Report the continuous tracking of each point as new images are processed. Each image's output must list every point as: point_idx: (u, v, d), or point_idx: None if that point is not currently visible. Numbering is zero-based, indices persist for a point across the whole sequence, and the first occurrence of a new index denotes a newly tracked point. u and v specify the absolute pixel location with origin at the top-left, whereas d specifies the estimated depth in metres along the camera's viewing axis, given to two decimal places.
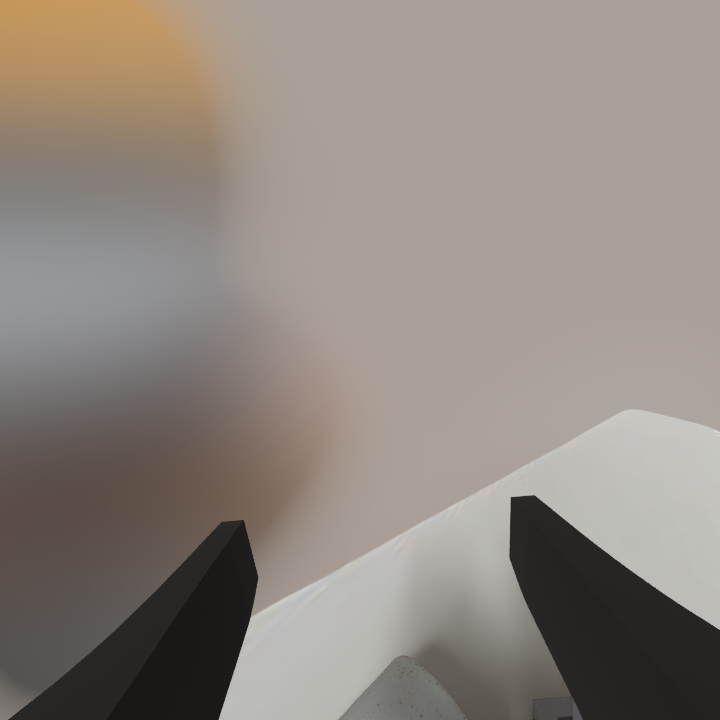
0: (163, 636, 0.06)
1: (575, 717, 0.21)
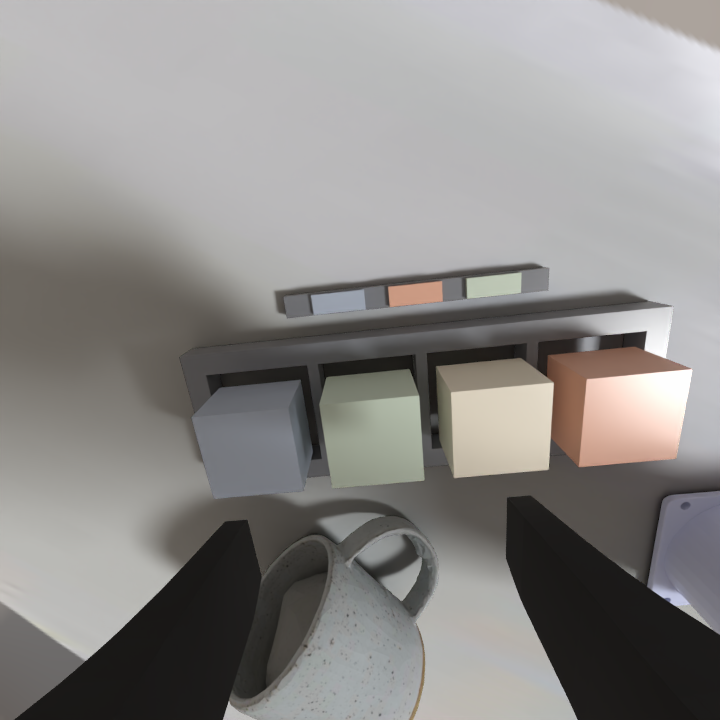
0: (168, 636, 0.06)
1: None
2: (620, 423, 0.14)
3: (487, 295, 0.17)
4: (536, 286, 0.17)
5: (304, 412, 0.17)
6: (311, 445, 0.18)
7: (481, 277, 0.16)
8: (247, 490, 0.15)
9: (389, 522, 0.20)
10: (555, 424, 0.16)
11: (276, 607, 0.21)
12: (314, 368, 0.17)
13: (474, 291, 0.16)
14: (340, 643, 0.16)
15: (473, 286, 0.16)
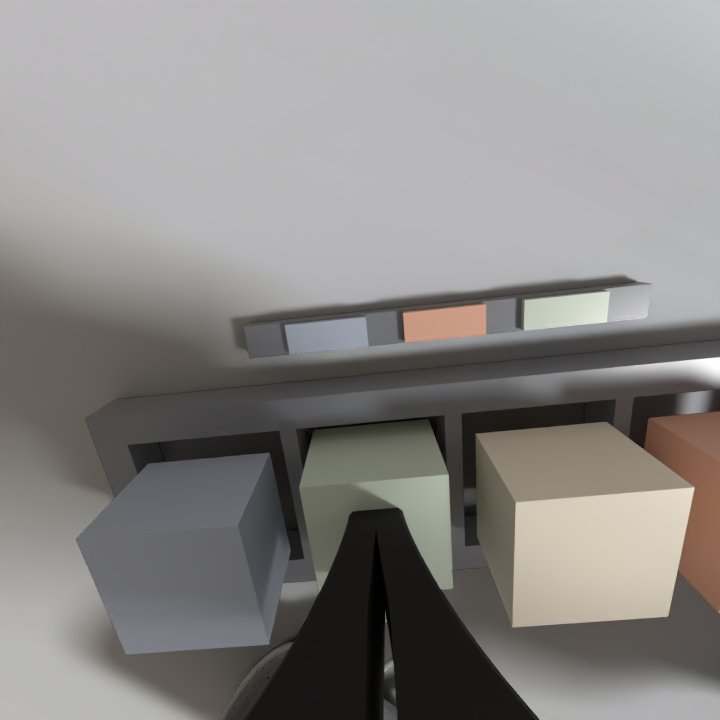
0: (363, 621, 0.06)
1: None
2: None
3: (555, 325, 0.11)
4: (629, 311, 0.11)
5: (275, 501, 0.11)
6: (288, 544, 0.12)
7: (547, 298, 0.11)
8: (178, 643, 0.09)
9: None
10: None
11: None
12: (290, 435, 0.11)
13: (535, 319, 0.11)
14: None
15: (534, 312, 0.11)
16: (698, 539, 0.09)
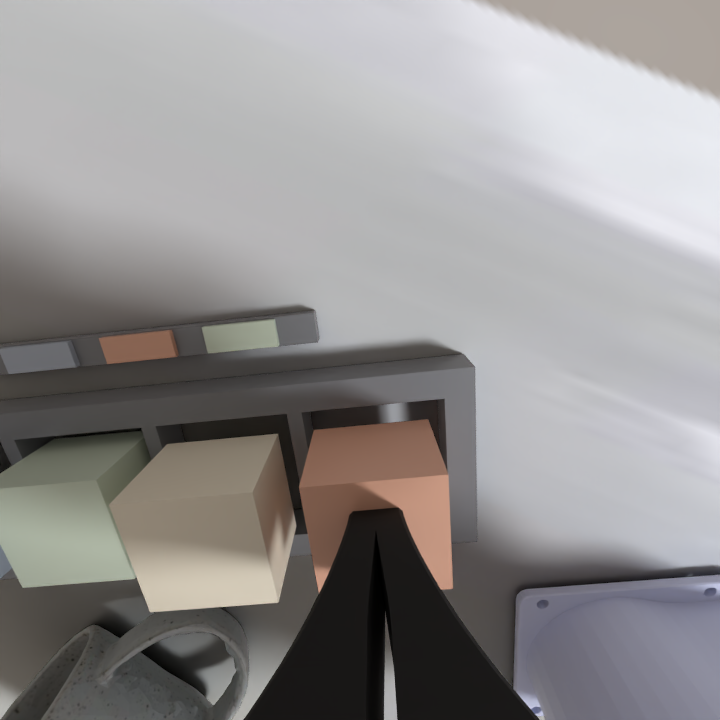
0: (364, 621, 0.06)
1: None
2: None
3: (233, 349, 0.12)
4: (300, 336, 0.12)
5: None
6: None
7: (222, 325, 0.12)
8: None
9: (179, 615, 0.16)
10: None
11: None
12: (12, 444, 0.13)
13: (215, 344, 0.12)
14: None
15: (212, 337, 0.12)
16: None
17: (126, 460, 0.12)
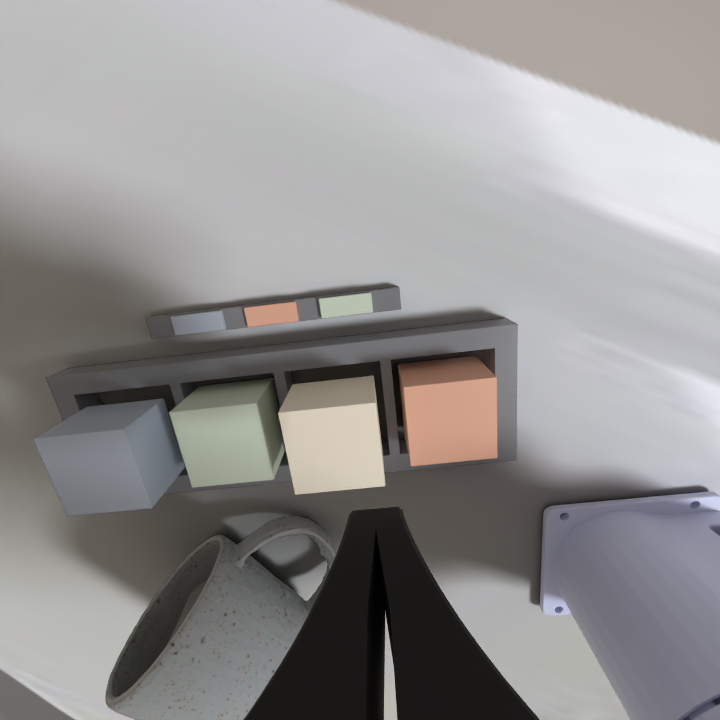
0: (364, 621, 0.06)
1: None
2: (441, 426, 0.16)
3: (340, 315, 0.17)
4: (388, 305, 0.17)
5: (168, 430, 0.17)
6: (181, 461, 0.18)
7: (333, 297, 0.17)
8: (98, 507, 0.16)
9: (287, 522, 0.20)
10: (404, 427, 0.18)
11: (183, 607, 0.22)
12: (177, 387, 0.17)
13: (327, 311, 0.17)
14: (212, 642, 0.16)
15: (326, 306, 0.17)
16: (406, 428, 0.17)
17: (265, 395, 0.17)
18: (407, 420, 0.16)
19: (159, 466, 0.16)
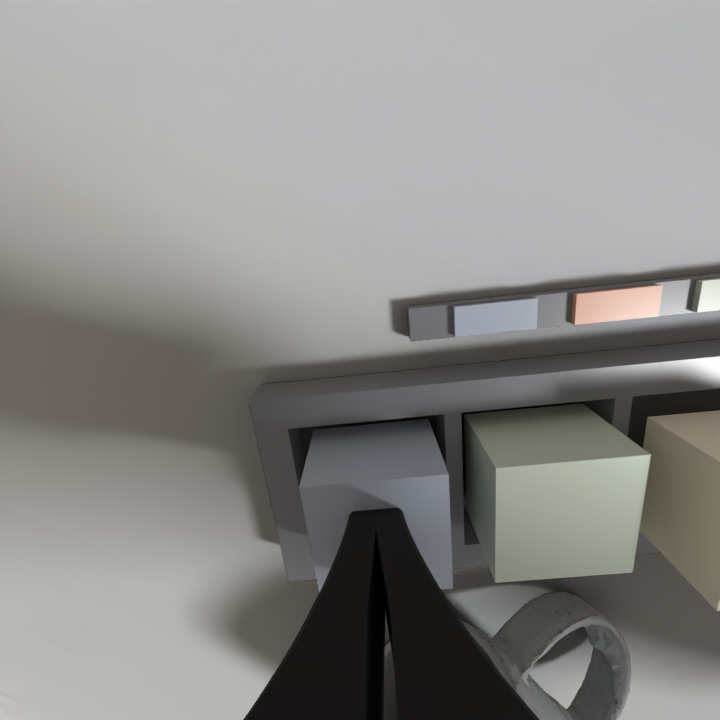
0: (364, 621, 0.06)
1: None
2: None
3: None
4: None
5: None
6: None
7: None
8: None
9: (566, 606, 0.14)
10: None
11: (388, 717, 0.15)
12: (454, 418, 0.11)
13: (710, 301, 0.11)
14: None
15: (710, 293, 0.10)
16: None
17: None
18: None
19: None
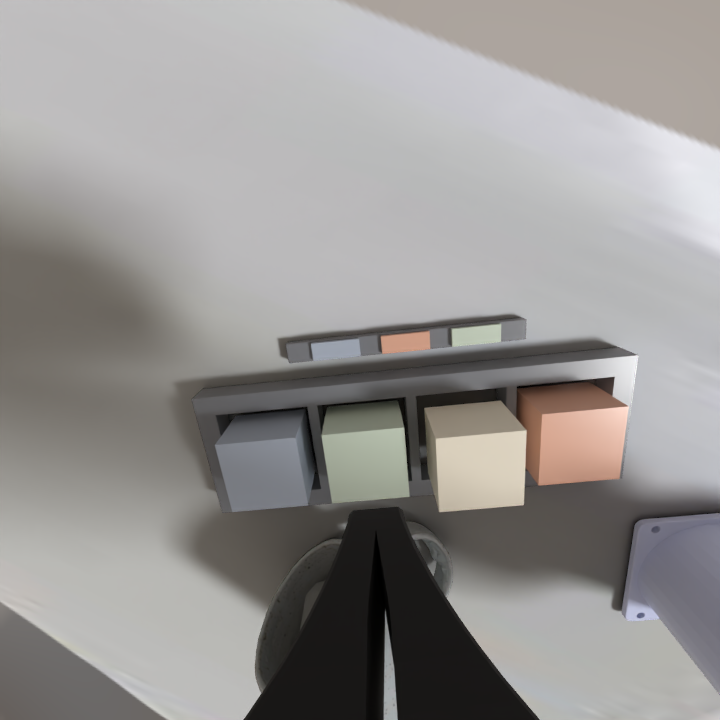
0: (364, 621, 0.06)
1: None
2: (572, 449, 0.17)
3: (470, 344, 0.18)
4: (515, 335, 0.18)
5: (308, 436, 0.20)
6: (314, 464, 0.21)
7: (465, 328, 0.18)
8: (260, 504, 0.18)
9: None
10: None
11: (298, 607, 0.23)
12: (314, 409, 0.19)
13: (458, 340, 0.18)
14: None
15: (457, 336, 0.18)
16: (532, 450, 0.18)
17: None
18: (540, 444, 0.17)
19: (307, 469, 0.19)
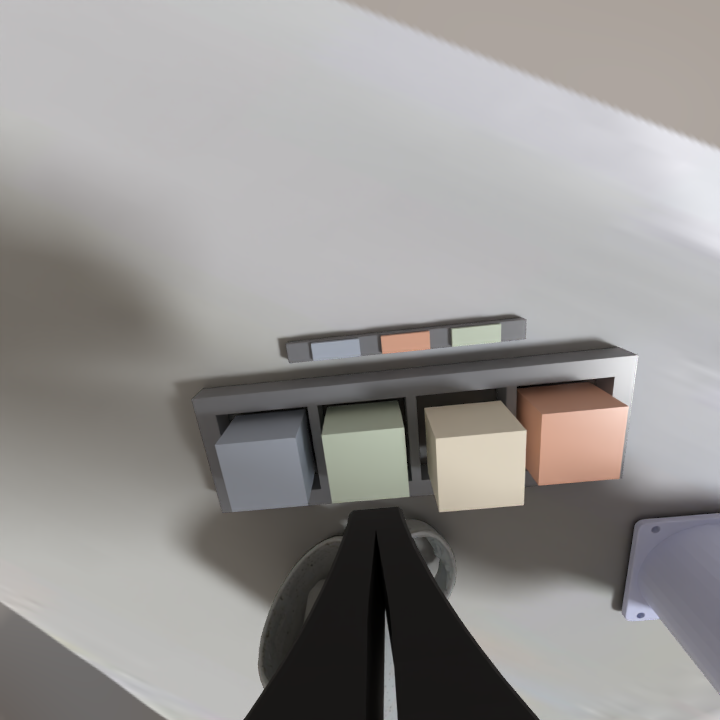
0: (364, 621, 0.06)
1: None
2: (572, 449, 0.17)
3: (470, 344, 0.18)
4: (515, 335, 0.18)
5: (308, 436, 0.20)
6: (314, 464, 0.21)
7: (465, 328, 0.18)
8: (260, 504, 0.18)
9: (411, 525, 0.21)
10: None
11: (301, 604, 0.23)
12: (314, 409, 0.19)
13: (458, 340, 0.18)
14: None
15: (457, 336, 0.18)
16: (532, 450, 0.18)
17: None
18: (540, 444, 0.17)
19: (307, 469, 0.19)
